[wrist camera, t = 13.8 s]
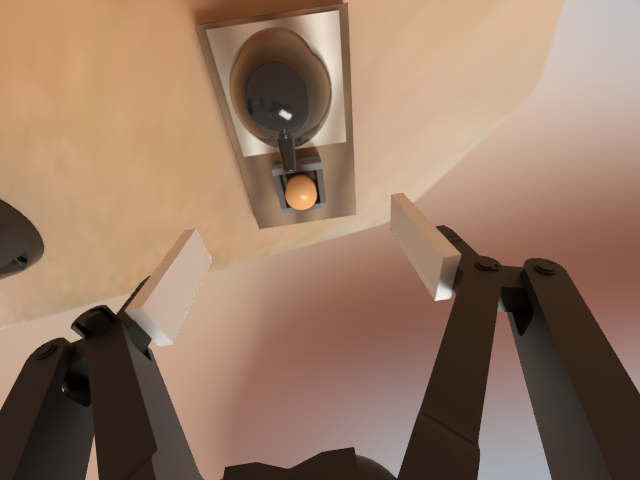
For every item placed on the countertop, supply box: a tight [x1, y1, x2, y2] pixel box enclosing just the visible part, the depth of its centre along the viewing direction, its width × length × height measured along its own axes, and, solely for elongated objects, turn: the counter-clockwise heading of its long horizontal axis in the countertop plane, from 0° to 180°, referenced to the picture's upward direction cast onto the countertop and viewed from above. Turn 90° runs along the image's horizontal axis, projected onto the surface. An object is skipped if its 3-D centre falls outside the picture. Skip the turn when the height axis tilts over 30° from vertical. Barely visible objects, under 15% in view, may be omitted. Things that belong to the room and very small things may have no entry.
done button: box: [285, 173, 317, 210], centre depth 31 cm, size 4×4×3 cm
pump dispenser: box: [229, 27, 332, 173], centre depth 22 cm, size 10×10×15 cm
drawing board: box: [195, 3, 356, 229], centre depth 31 cm, size 16×25×6 cm, turn 7°
